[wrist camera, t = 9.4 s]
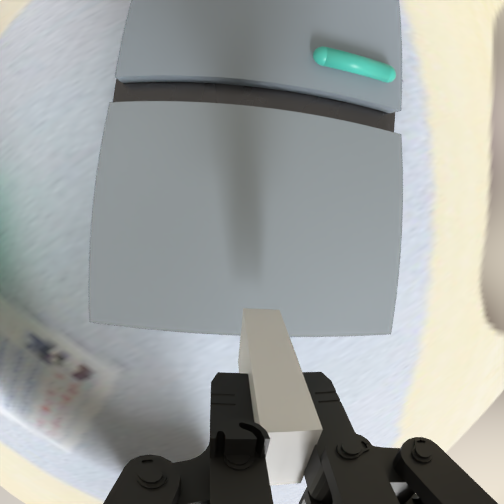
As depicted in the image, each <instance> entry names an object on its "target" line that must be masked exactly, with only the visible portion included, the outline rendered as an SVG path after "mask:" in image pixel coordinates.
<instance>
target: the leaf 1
mask: <svg viewBox="0 0 504 504" xmlns="http://www.w3.org/2000/svg"><path fill="white" fill-rule="evenodd" d="M115 78H117V79H118V80H119V81H121V82H122V83H134V82H196V83H215V84H229V85H241V86H251V87H260V88H268V89H275V90H283V91H289V92H296V93H302V94H307V95H313V96H318V97H323V98H328V99H333V100H338V101H343V102H347V103H351V104H356V105H360V106H364V107H368V108H372V109H375V110H379V111H383V112H386V113H393V112H398V111H401V98H402V39H401V20H400V6H399V0H132V1H131V5H130V8H129V12H128V16H127V20H126V24H125V28H124V33H123V37H122V42H121V47H120V51H119V57H118V62H117V67H116V73H115Z"/></svg>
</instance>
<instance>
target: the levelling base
mask: <svg viewBox="0 0 504 504" xmlns="http://www.w3.org/2000/svg"><path fill="white" fill-rule="evenodd" d="M131 101H183V102H206V103H222V104H234V105H245V106H255V107H264V108H272V109H280V110H287V111H293V112H300V113H306V114H312V115H318V116H323V117H329V118H334V119H339V120H344V121H348V122H353V123H357V124H362V125H366V126H370V127H375V128H379V129H383V130H386V131H390V132H394V121H395V112H393V113H386V112H383V111H379V110H375V109H372V108H368V107H364V106H360V105H356V104H351V103H347V102H343V101H338V100H333V99H328V98H323V97H318V96H313V95H307V94H302V93H296V92H289V91H283V90H275V89H268V88H260V87H251V86H241V85H229V84H215V83H196V82H134V83H122V82H121V81H119V80H118V79H116V85H115V92H114V99H113V102H131Z"/></svg>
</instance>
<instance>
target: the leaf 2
mask: <svg viewBox="0 0 504 504" xmlns="http://www.w3.org/2000/svg"><path fill="white" fill-rule="evenodd" d="M402 209H403V167H402V141H401V134H398V133H394V132H390V131H386V130H383V129H379V128H375V127H370V126H366V125H362V124H357V123H353V122H348V121H344V120H339V119H334V118H329V117H323V116H318V115H312V114H306V113H300V112H293V111H287V110H280V109H272V108H264V107H255V106H245V105H234V104H222V103H206V102H183V101H131V102H110V104H109V108H108V113H107V118H106V122H105V127H104V132H103V138H102V143H101V149H100V155H99V162H98V168H97V175H96V183H95V191H94V200H93V211H92V222H91V237H90V257H89V318H90V322H93V323H101V324H108V325H116V326H124V327H133V328H142V329H152V330H163V331H175V332H187V333H202V334H219V335H240V336H241V327H242V316H243V308H250V309H274V310H280V313H281V315H282V318H283V321H284V323H285V326H286V329H287V332H288V334H289V337H333V336H365V335H386V334H391V330H392V324H393V317H394V310H395V302H396V294H397V285H398V276H399V265H400V252H401V235H402Z"/></svg>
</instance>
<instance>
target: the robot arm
mask: <svg viewBox="0 0 504 504" xmlns="http://www.w3.org/2000/svg"><path fill="white" fill-rule="evenodd" d="M238 365H239V373H220V372H218V373H217V374H216V376H215V377H214V379H213V380H212V382H211V410H210V442H209V446H208V447H207V449H206V451H204V452H203V453H202V454H201V455H200V456H198V457H196V458H194V459H191V460H187V461H182V462H176V463H172V462H171V461H169V460H167V459H165V458H163V457H161V456H154V455H145V456H139V457H137V458H135V459H132V460H131V461H130V462H129V463H128V464H127V465H126V466H125V467H124V469H123V471H122V473H121V474H120V476H119V478H118V479H117V481H116V483H115V484H114V486H113V488H112V490H111V491H110V493H109V495H108V496H107V498H106V500H105V502H104V503H103V504H273V500H272V494H271V488H270V485H285V484H296V483H301V481H302V478H303V476H304V475H305V479H306V483H307V488H306V490H305V492H304V494H303V496H302V498H301V500H300V502H299V504H305V503H306V504H498V503H497V502H496V501H495V500H494V499H493V498H491V497H490V496H489V495H488V494H487V493H486V492H485V491H484V490H483V489H482V488H481V487H480V486H479V485H478V484H477V483H476V482H475V481H474V480H473V479H472V478H471V477H470V476H469V475H468V474H467V473H466V472H465V471H464V470H463V469H461V468H460V467H459V466H458V465H457V464H456V463H455V462H454V461H453V460H452V459H451V458H450V457H449V456H448V455H447V454H446V453H445V452H444V451H443V450H442V449H441V448H440V447H439V446H438V445H437V444H436V443H434V442H433V441H431V440H429V439H426V438H423V437H415V438H411V439H408V440H407V441H406V442H405V443H404V444H403V445H402V447H401V448H382V447H375V446H372V445H371V443H370V442H369V441H368V440H367V439H366V438H364V437H363V436H361V435H358V434H356V433H355V432H354V429H353V427H352V425H351V423H350V421H349V419H348V416H347V414H346V412H345V410H344V408H343V406H342V403H341V402H340V399H339V397H338V395H337V393H336V390H335V388H334V386H333V384H332V382H331V380H330V379H329V378H327V377H326V376H325V375H324V374H323V373H322V372H304V373H302V370H301V368H300V365H299V362H298V359H297V356H296V354H295V351H294V348H293V345H292V343H291V340H290V337H289V334H288V332H287V329H286V326H285V323H284V321H283V318H282V315H281V313H280V310H274V309H250V308H243V316H242V327H241V337H240V348H239V359H238ZM415 493H416V494H417V495H416V494H415Z"/></svg>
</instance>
